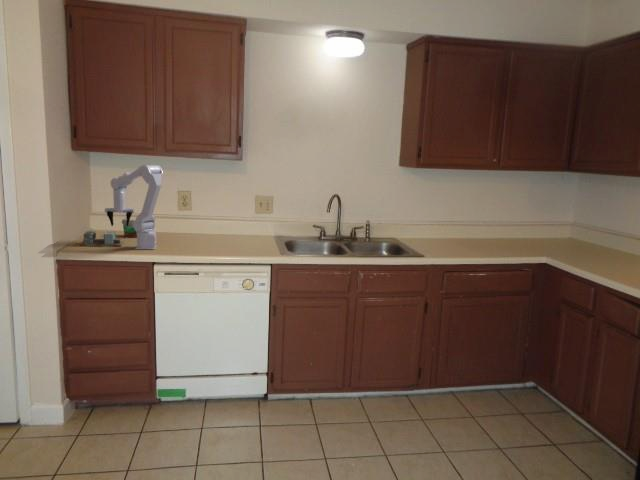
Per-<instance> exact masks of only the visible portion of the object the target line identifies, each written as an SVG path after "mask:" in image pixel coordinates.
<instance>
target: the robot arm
mask: <svg viewBox="0 0 640 480" xmlns="http://www.w3.org/2000/svg"><path fill="white" fill-rule="evenodd" d="M163 175H164V171H163V169H162V167H161V166H160V165H159V164H151V165H150V164H149V165H148V164H147V165H146V164H142V165H140V166H138V168H136V170H133V171H132V172H129V171H128V172H127V171H126V172H123V174H122V175H119V176H118V177H117V178H116V177H113V178H112V179H111V180H110V186H111V188H112V190H113V191H112V192H113V207H105V208H104V213H106V216H107V218H108V220H109V221H110V225H111V227H112V226H114V213H125V215H126V220H127V222H126V226H128V225H129V220H130V219H131V217H132V215H133V214H134V213H135V208H127V207H126V191H127V187H128V186H129V185H131V184H133V183H134V182H136V180H137V179H138V178H140V177H141V178H142V179H143V180H144V181H145V183H146V184H147V185H148V188H147V191H146V195H145V198H144V202H143V206H142V210H141V212H140V213H139V214H137V216H136V218H135V219H134V223H133V227H134V229H135V230H136V232H137V238H136V247H135V250H155V249H156V248H157V232H156V231H153V229H155V227H156V217H155V216H154V211H155V208H156V205H157V200H158V197H159V194H160V191H161V187H162V179H163ZM135 179H136V180H135Z"/></svg>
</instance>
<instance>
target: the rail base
mask: <svg viewBox="0 0 640 480" xmlns="http://www.w3.org/2000/svg"><path fill="white" fill-rule="evenodd" d="M96 234H97V233H96V231H92V230H91V231H88V230H87V231H85V232H84V233H83V239H82V242H81V243H79V247H99V248H100V247H103V248H105V247H108V248H109V247H110V248H111V247H112V248H113V247H114V248H117V247H118V248H121V247H122V246H123V245H124V243H125V242H124V241H121V239H119V238H118V239H117V238H115V239H114V240H113V245H110V244H105V239H104V238H97V235H96Z"/></svg>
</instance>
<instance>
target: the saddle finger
mask: <svg viewBox="0 0 640 480" xmlns="http://www.w3.org/2000/svg"><path fill="white" fill-rule="evenodd" d="M103 239H105V244H110V245H113V240H114V239H116V232H115V231H106V232H105V233H104V234H103Z"/></svg>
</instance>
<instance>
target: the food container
mask: <svg viewBox="0 0 640 480" xmlns="http://www.w3.org/2000/svg"><path fill="white" fill-rule="evenodd" d="M134 221H135V219H133V220H132V219H131V220H129V225H128V226H126V222H127V218H125V217H124V218H122V220H121V224H122V225H123V226H122V227H123V236H124V238H126V237H127V238H126V239H137V232H136V230H135V229H134V227H133V223H134Z"/></svg>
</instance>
